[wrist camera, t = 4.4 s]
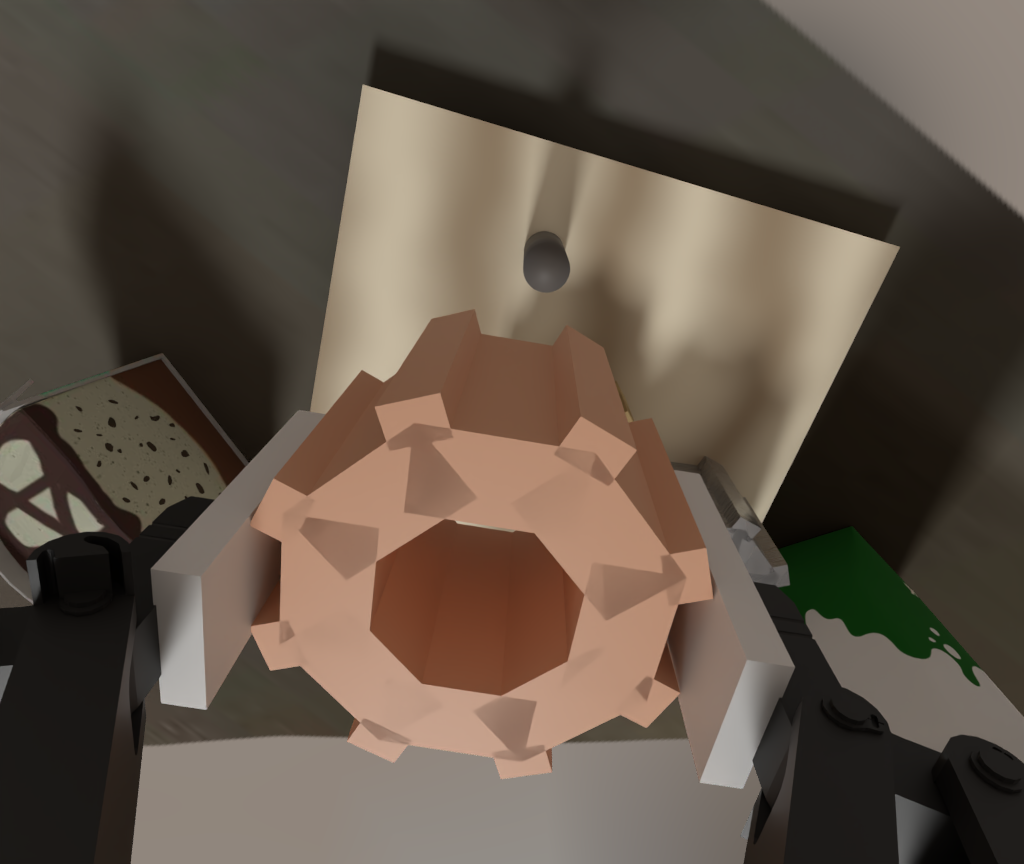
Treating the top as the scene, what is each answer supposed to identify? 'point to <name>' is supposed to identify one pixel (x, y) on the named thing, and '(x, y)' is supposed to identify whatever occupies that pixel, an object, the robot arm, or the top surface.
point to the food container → (104, 458)
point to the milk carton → (894, 646)
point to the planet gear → (482, 551)
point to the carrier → (596, 280)
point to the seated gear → (741, 524)
